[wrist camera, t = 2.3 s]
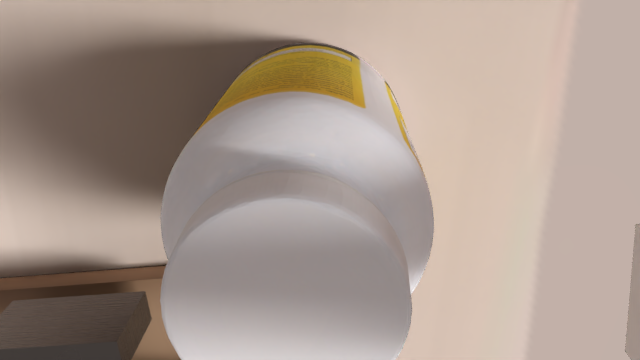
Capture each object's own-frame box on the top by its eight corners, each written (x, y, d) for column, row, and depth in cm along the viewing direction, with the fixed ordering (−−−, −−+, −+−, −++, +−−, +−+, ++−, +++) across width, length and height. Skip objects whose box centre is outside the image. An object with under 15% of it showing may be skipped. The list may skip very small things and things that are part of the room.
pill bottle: (188, 95, 22) (33, 248, 11) (347, 3, 20) (353, 72, 9) (281, 240, 24) (229, 491, 13) (433, 163, 22) (518, 372, 11)
